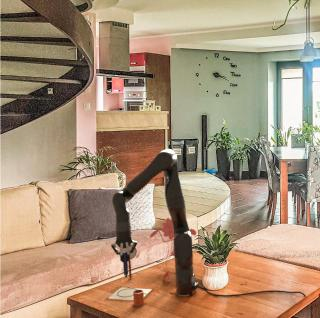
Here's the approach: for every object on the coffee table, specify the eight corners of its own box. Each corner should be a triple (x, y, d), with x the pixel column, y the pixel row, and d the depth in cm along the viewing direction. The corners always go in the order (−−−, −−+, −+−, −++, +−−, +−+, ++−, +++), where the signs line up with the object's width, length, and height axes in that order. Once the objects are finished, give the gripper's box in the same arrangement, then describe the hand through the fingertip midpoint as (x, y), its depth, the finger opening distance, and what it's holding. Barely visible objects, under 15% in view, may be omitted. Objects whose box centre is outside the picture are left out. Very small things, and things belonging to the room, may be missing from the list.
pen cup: (145, 303, 217) (145, 289, 216) (141, 307, 212) (140, 293, 211) (136, 302, 218) (136, 289, 217) (132, 307, 213) (131, 293, 212)
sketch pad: (152, 290, 232) (152, 289, 232) (140, 301, 218) (140, 300, 218) (121, 288, 236) (120, 287, 236) (107, 299, 222) (107, 298, 222)
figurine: (200, 277, 248) (197, 217, 244) (154, 286, 237) (151, 223, 233) (192, 268, 262) (189, 211, 258) (148, 276, 251) (145, 217, 247)
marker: (129, 276, 230) (127, 251, 228) (127, 278, 227) (125, 252, 226) (125, 276, 230) (123, 251, 228) (123, 277, 228) (121, 252, 226)
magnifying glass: (138, 277, 250) (136, 243, 248) (138, 278, 249) (136, 244, 246) (122, 279, 248) (120, 245, 246) (122, 280, 247) (120, 246, 244)
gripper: (136, 225, 231) (138, 257, 233) (109, 228, 227) (111, 260, 229) (137, 229, 224) (139, 261, 226) (109, 232, 220) (111, 265, 222)
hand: (125, 261), depth 228 cm, fingers closed on marker, 2 cm apart
